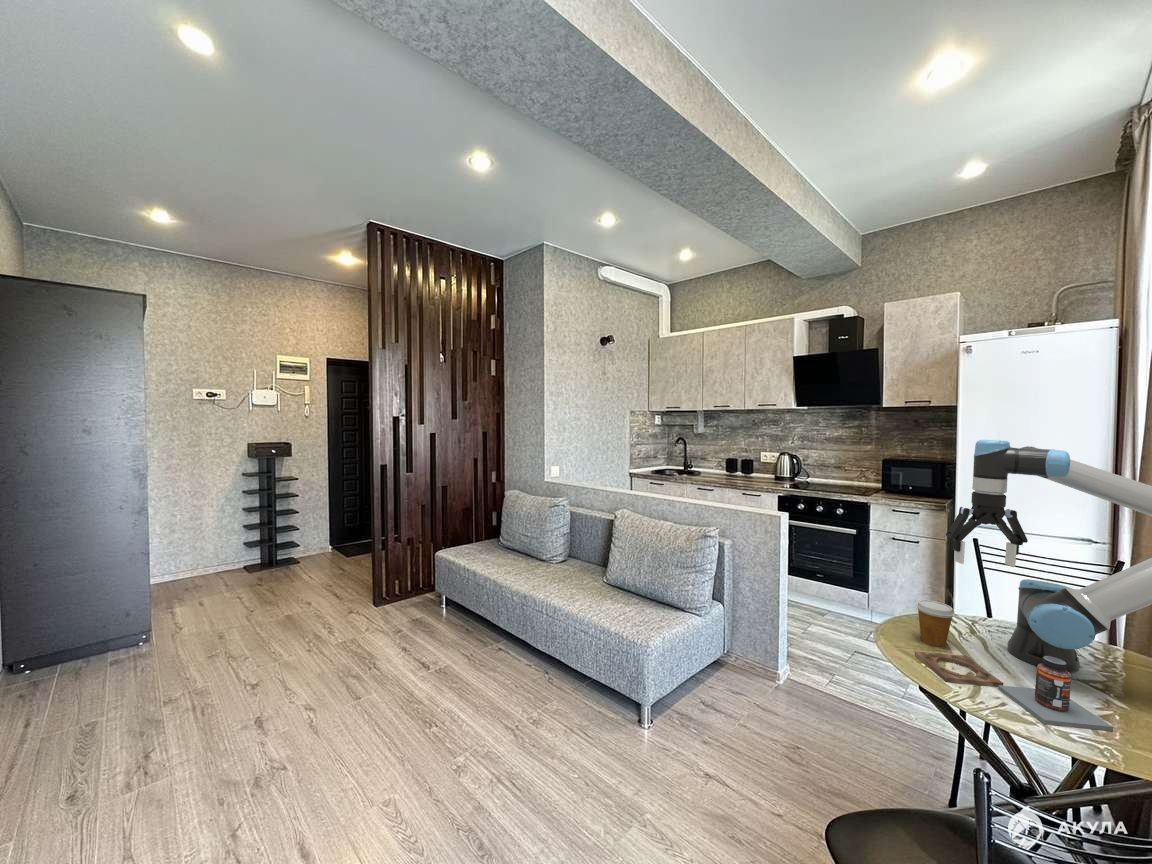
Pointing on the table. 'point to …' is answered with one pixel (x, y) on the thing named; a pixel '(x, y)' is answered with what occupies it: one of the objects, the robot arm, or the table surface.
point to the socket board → (950, 676)
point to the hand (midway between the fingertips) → (984, 564)
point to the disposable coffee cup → (934, 622)
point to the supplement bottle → (1053, 684)
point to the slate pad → (1046, 715)
